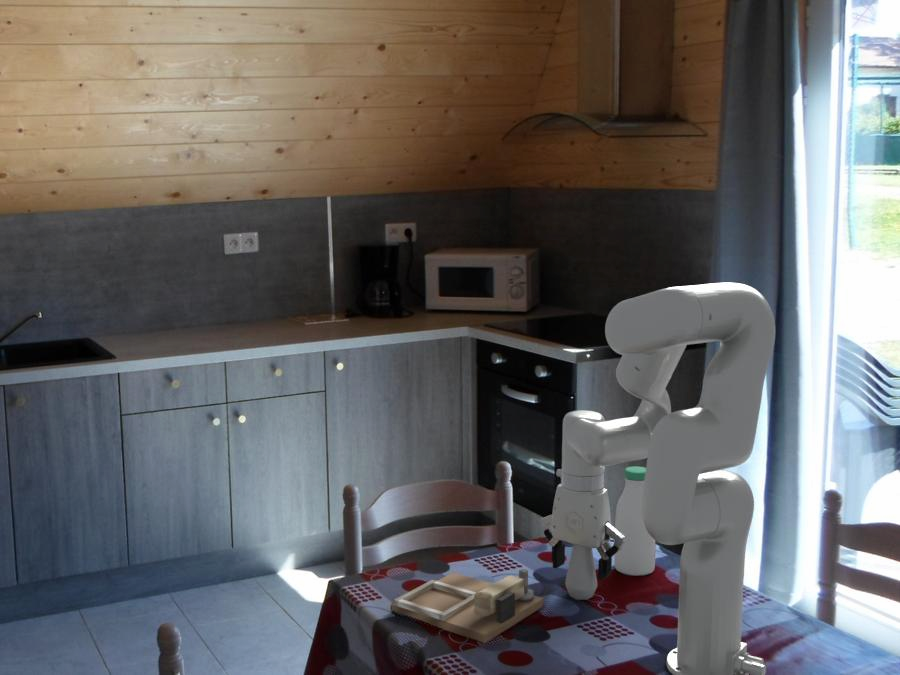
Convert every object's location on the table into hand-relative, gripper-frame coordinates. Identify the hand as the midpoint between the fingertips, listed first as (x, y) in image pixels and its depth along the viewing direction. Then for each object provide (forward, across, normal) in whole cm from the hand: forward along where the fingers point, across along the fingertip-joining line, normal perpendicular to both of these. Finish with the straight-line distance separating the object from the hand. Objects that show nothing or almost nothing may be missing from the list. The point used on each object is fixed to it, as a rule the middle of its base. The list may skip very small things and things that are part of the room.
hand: (581, 571), depth 192 cm
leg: (+1, -6, -18) cm, 19 cm away
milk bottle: (+5, +2, +17) cm, 18 cm away
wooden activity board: (+5, -13, -17) cm, 22 cm away
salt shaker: (+5, 0, 0) cm, 5 cm away
